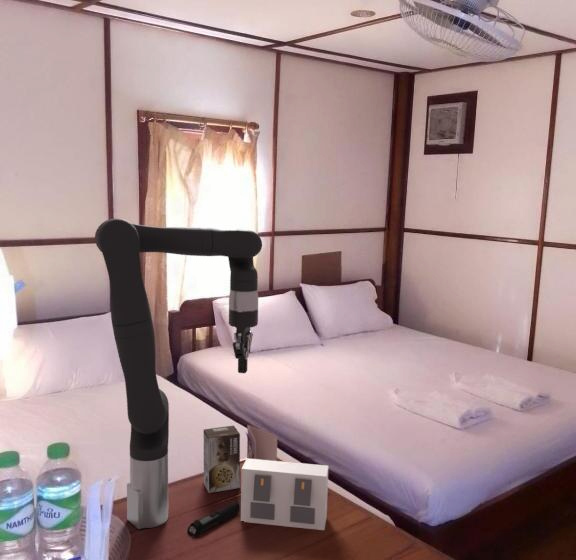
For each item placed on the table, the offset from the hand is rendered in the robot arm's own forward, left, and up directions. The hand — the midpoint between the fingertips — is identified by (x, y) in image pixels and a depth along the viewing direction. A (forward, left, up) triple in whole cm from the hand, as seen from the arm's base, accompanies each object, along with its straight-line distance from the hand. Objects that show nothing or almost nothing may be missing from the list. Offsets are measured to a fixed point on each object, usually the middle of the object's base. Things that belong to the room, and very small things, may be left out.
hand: (242, 372), depth 159 cm
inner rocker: (-5, -15, -28) cm, 32 cm away
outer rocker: (+1, -23, -28) cm, 36 cm away
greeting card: (+10, +4, -35) cm, 37 cm away
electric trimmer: (-12, -6, -36) cm, 38 cm away
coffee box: (0, +9, -35) cm, 36 cm away
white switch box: (+2, -16, -35) cm, 38 cm away
